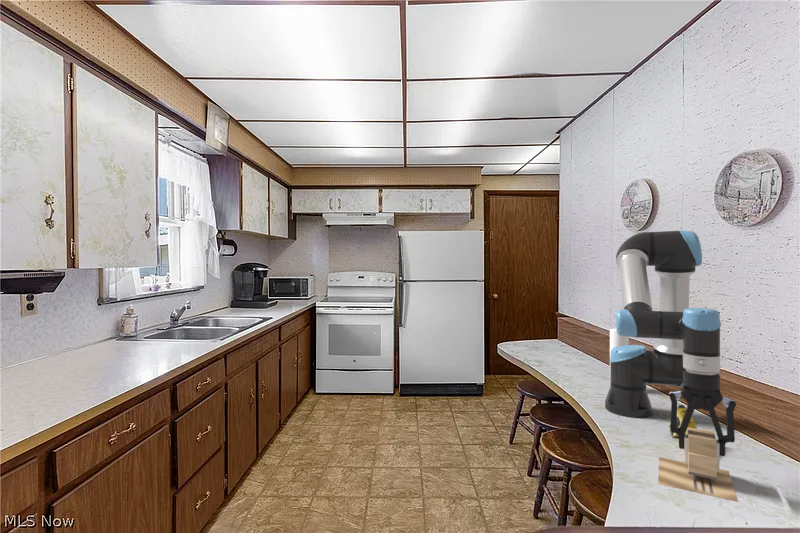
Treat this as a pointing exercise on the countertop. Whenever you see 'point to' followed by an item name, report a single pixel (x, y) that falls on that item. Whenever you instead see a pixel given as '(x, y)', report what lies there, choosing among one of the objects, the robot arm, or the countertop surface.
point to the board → (695, 480)
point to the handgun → (680, 415)
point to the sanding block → (702, 453)
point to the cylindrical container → (617, 339)
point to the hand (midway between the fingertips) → (701, 464)
